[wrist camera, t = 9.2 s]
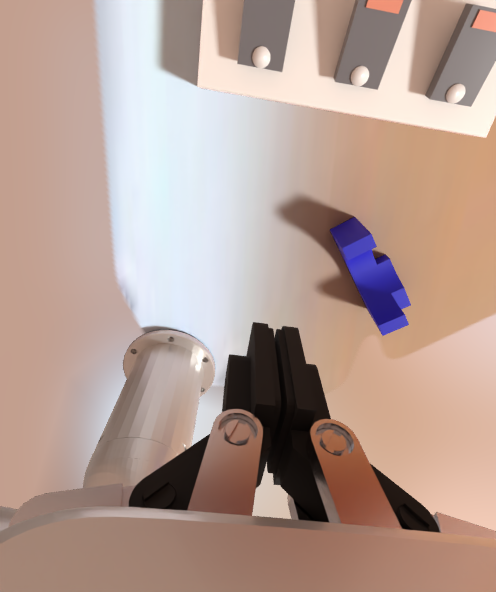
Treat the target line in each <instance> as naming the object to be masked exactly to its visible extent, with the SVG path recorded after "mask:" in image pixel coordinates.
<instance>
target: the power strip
mask: <svg viewBox="0 0 496 592" xmlns="http://www.w3.org/2000/svg"><path fill="white" fill-rule="evenodd" d="M354 4H355V0H295V4H294V10H293V15H292V21H291V26H290V32H289V37H288V43H287V48H286V54H285V60H284V65H283V71H282V72H279V71H273V70H268V69H262V68H257V67H251V66H246V65H241V64H237V62H238V53H239V43H240V34H241V25H242V15H243V6H244V0H203V9H202V24H201V38H200V53H199V68H198V82H197V87H200V88H202V89H207V90H213V91H218V92H224V93H230V94H235V95H241V96H246V97H252V98H258V99H263V100H269V101H275V102H280V103H286V104H292V105H297V106H303V107H309V108H314V109H320V110H326V111H331V112H337V113H343V114H348V115H354V116H359V117H365V118H371V119H376V120H382V121H388V122H393V123H399V124H405V125H410V126H416V127H422V128H427V129H433V130H439V131H444V132H450V133H456V134H461V135H468V136H477V137H485V138H486V136H487V134H488V132H489V130H490V127H491V125H492V123H493V121H494V118H495V116H496V62H495V63H494V65H493V67H492V69H491V71H490V73H489V75H488V76H487V78H486V80H485V82H484V84H483V86H482V88H481V89H480V91H479V93H478V95H477V97H476V99H475V101H474V102H473V104H472V106H471V107H469V106H463V105H458V104H451V103H447V102H442V101H436V100H431V99H429V98H427V97H426V96H425V94H426V92H427V90H428V88H429V85H430V83H431V81H432V79H433V76H434V74H435V72H436V70H437V67H438V65H439V63H440V61H441V58H442V56H443V54H444V52H445V50H446V47H447V45H448V43H449V41H450V38H451V36H452V34H453V32H454V29H455V27H456V25H457V23H458V20H459V18H460V16H461V14H462V11H463V9H464V7H465V5H466V4H474V5H479V6H484V7H489V8H494V9H496V0H412V1H411V3H410V6H409V9H408V11H407V14H406V17H405V19H404V22H403V24H402V27H401V30H400V32H399V35H398V38H397V40H396V43H395V45H394V48H393V51H392V53H391V56H390V59H389V61H388V64H387V66H386V69H385V72H384V74H383V77H382V80H381V82H380V85H379V87H378V90H376V89H371V88H365V87H360V86H354V85H349V84H343V83H338V82H335V81H334V78H333V77H334V73H335V70H336V66H337V63H338V59H339V56H340V52H341V49H342V45H343V42H344V38H345V35H346V31H347V28H348V25H349V21H350V18H351V14H352V11H353V7H354Z"/></svg>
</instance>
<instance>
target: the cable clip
mask: <svg viewBox="0 0 496 592" xmlns="http://www.w3.org/2000/svg"><path fill="white" fill-rule="evenodd" d="M330 232H331V234H332V236H333V238H334V240H335V242H336V244H337V246H338V249H339V251H340V253H341V255H342V257H343V259H344V261H345V263H346V265H347V268H348V270H349V272H350V274H351V276H352V278H353V280H354V282H355V284H356V287H357V289H358V291H359V293H360V295H361V297H362V299H363V301H364V304H365V306H366V308H367V310H368V311H369V313H370V315H371V317H372V318H373V320H374V322H375V323H376V325H377V327H378V328H379V330H380V332H381V334H382V335H386V334H388V333H390V332H393V331H395V330H397V329H400V328H402V327H405V326H407V325H409V324H408V321H407V319H406V316H405V314H404V313H403V312H402V310H401V309H403V308H405V307H408V306H410V305H411V304H410V301H409V299H408V296H407V294H406V291H405V289H404V287H403V285H402V283H401V281H400V280H399V278H398V276H397V274H396V272H395V270H394V267H393V265H392V263H391V261H390V259H389V257H388V256H387V255H386V254H385V255H383V256H381V257H379V258H377V259H375V258H374V256H373V253H372V249H373V248H375V247H377V246H376V244H375V242H374V239H373V237H372V234H371V233H370V232H369V231H368V230H367V229H366V228H365V227H364V226H363V225H362V224H361V223H360V222H359V221H358V220H357V219H356V218H355V217H353V218H351V219H349V220H347V221H345V222H344V223H342V224H340V225H338V226H336V227H334V228H332V229H330Z"/></svg>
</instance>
